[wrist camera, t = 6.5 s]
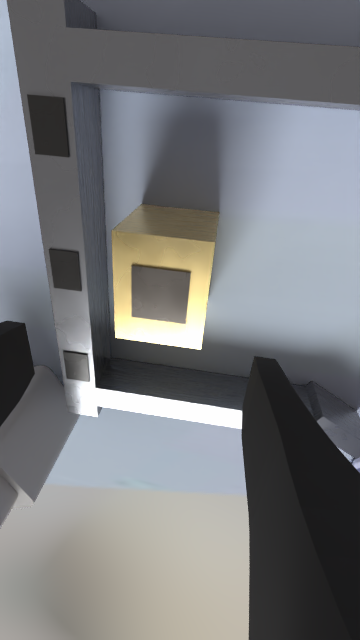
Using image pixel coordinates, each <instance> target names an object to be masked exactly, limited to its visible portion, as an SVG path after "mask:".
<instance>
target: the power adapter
mask: <svg viewBox="0 0 360 640" xmlns="http://www.w3.org/2000/svg"><path fill="white" fill-rule="evenodd" d="M34 371H35V374H34V376H33V378H32V380H31V382H30V384H29V386H28V388H27V389H26V391H25V393H24V394H23V396H22V398H21V400H20V401H19V402H18V404H17V405H16V407H15V408H14V409H13V411H12V412H11V413H10V415H9V416H8V417H7V419H6V420H5V421H4V423H3V424H2V425H1V427H0V529H1V527H2V525H3V523H4V521H5V520H6V518H7V516H8V515H9V513H10V511H11V509H17V508H26V507H31V506H33V504H34V502H35V500H36V498H37V497H38V495H39V493H40V491H41V489H42V487H43V485H44V483H45V481H46V479H47V477H48V475H49V474H50V472H51V470H52V468H53V466H54V464H55V462H56V460H57V458H58V456H59V454H60V453H61V451H62V449H63V447H64V445H65V443H66V441H67V439H68V437H69V435H70V433H71V431H72V430H73V428H74V426H75V424H76V422H77V420H78V418H79V416H80V414H76V413H70V412H68V410H67V403H66V396H65V390H64V387H63V385H62V384H61V383H60V381H59V380H58V378H57V377H56V376H55V374H54V373H53V372H52V370H51V369H49V368H48V367H46V366H43V365H38V366H34Z"/></svg>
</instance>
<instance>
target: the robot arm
mask: <svg viewBox="0 0 360 640" xmlns="http://www.w3.org/2000/svg"><path fill="white" fill-rule="evenodd" d="M34 374H35V371H34V366H33V361H32V356H31V351H30V346H29V341H28V336H27V331H26V326H25V323H19V322H12V321H4V322H1V323H0V427H1V425H2V424H3V423H4V421H5V420H6V419H7V417H8V416H9V415H10V413H11V412H12V411H13V409H14V408H15V407H16V405H17V404H18V402H19V401H20V400H21V398H22V396H23V394H24V393H25V391H26V389H27V388H28V386H29V384H30V382H31V380H32V378H33V376H34ZM242 446H243V458H244V468H245V479H246V490H247V499H248V500H247V501H248V511H249V529H250V530H249V531H250V582H249V583H250V585H249V591H250V592H249V640H360V457H359V458H358V459H355V460H354V461H353V463H352V464H351V463H350V462H349V460H348V459H347V458H346V457H345V456H344V455H343V454H342V453H341V451H340V450H339V449H338V448H337V447H336V445H335V444H334V443H333V442H332V440H331V439H330V438H329V437H328V435H327V434H326V433H325V432H324V430H323V429H322V428H321V426H320V425H319V424H318V422H317V421H316V420H315V418H314V417H313V415H312V414H311V413H310V411H309V410H308V408H307V407H306V406H305V404H304V403H303V401H302V400H301V398H300V397H299V395H298V394H297V392H296V391H295V389H294V388H293V386H292V385H291V383H290V382H289V380H288V378H287V377H286V375H285V374H284V372H283V370H282V369H281V367H280V365H279V364H278V362H277V361H276V360H275V359H270V358H263V357H256V356H254V360H253V364H252V368H251V373H250V377H249V381H248V385H247V389H246V393H245V397H244V402H243V406H242Z"/></svg>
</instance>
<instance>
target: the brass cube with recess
mask: <svg viewBox="0 0 360 640" xmlns="http://www.w3.org/2000/svg"><path fill="white" fill-rule="evenodd" d="M218 219H219V212H211V211H201V210H192V209H183V208H174V207H164V206H155V205H146V204H141V205H140V206H139V207H138V208H137V209H135V210H134V211H133V212H132V213H131V214H130V215H129V216H127V217H126V218H125V219H124V220H123V221H122V222H121V223H120V224H118V225H117V226H116V227H115V228H114V229H113V230H112V258H113V287H114V316H115V338H121V339H128V340H135V341H143V342H150V343H157V344H164V345H171V346H178V347H185V348H192V349H199V350H201V346H202V338H203V331H204V324H205V316H206V309H207V301H208V294H209V286H210V279H211V272H212V264H213V257H214V249H215V242H216V234H217V227H218Z"/></svg>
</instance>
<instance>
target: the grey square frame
mask: <svg viewBox="0 0 360 640" xmlns="http://www.w3.org/2000/svg"><path fill="white" fill-rule="evenodd" d="M7 5H8V12H9V18H10V25H11V32H12V39H13V45H14V52H15V59H16V66H17V72H18V79H19V86H20V93H21V99H22V106H23V113H24V120H25V126H26V133H27V140H28V147H29V153H30V160H31V167H32V174H33V180H34V187H35V194H36V201H37V207H38V214H39V221H40V228H41V234H42V241H43V248H44V255H45V261H46V268H47V275H48V282H49V288H50V295H51V302H52V309H53V315H54V322H55V329H56V336H57V342H58V349H59V356H60V363H61V369H62V376H63V383H64V390H65V396H66V403H67V410H68V412H70V413H76V414H83V415H89V416H95V417H98V415H99V413H100V411H101V409H102V407H107V408H114V409H120V410H126V411H132V412H139V413H145V414H151V415H158V416H164V417H170V418H176V419H183V420H189V421H195V422H202V423H208V424H214V425H220V426H227V427H233V428H239V429H242V406H243V402H244V397H245V393H246V389H247V385H248V381H249V378H245V377H238V376H232V375H225V374H218V373H211V372H204V371H198V370H191V369H184V368H177V367H170V366H164V365H157V364H150V363H143V362H136V361H129V360H123V359H116V358H111V344H110V322H109V299H108V277H107V255H106V232H105V210H104V188H103V165H102V143H101V121H100V98H99V89H104V90H116V91H128V92H140V93H153V94H165V95H177V96H189V97H202V98H214V99H226V100H238V101H251V102H263V103H275V104H287V105H300V106H312V107H324V108H336V109H349V110H360V47H352V46H337V45H322V44H307V43H292V42H277V41H262V40H247V39H232V38H218V37H203V36H188V35H173V34H158V33H143V32H128V31H113V30H98V29H96V13H95V12H94V11H92V10H91V9H90V8H89V7H87V6H86V5H85V4H84V3H82V2H81V1H80V0H7ZM291 385H292V386H293V388H294V389H295V391H296V392H297V394H298V395H299V397H300V398H301V400H302V401H303V403H304V404H305V406H306V407H307V408H308V410H309V411H310V413H311V414H312V415H313V417H314V418H315V420H316V421H317V422H318V424H319V425H320V426H321V428H322V429H323V430H324V432H325V433H326V434H327V435H328V437H329V438H330V439H331V440H332V442H333V443H334V444H335V445H336V446H337V447H339V448H340V449H342V450H343V451H345V452H346V453H348V454H349V455H351V456H353V457H354V458H356V459H358V458H359V457H360V418H359V415H358V413H357V411H356V410H354V409H353V408H351V407H350V406H348V405H347V404H345V403H344V402H342V401H341V400H339V399H338V398H336V397H335V396H334V395H332V394H331V393H329V392H328V391H326V390H325V389H323V388H322V387H320V386H319V385H317V384H316V383H314V382H313V381H312V382H310V383H309V384H308V385H306V386H300V385H293V384H291Z"/></svg>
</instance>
